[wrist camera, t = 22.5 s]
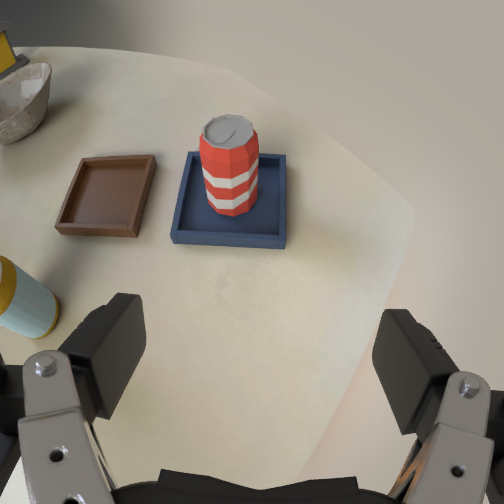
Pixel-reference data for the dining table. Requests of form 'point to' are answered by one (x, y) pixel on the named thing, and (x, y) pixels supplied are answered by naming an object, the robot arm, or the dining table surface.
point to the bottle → (25, 302)
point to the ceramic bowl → (23, 101)
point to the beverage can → (230, 164)
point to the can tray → (228, 227)
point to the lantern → (8, 54)
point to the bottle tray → (107, 196)
